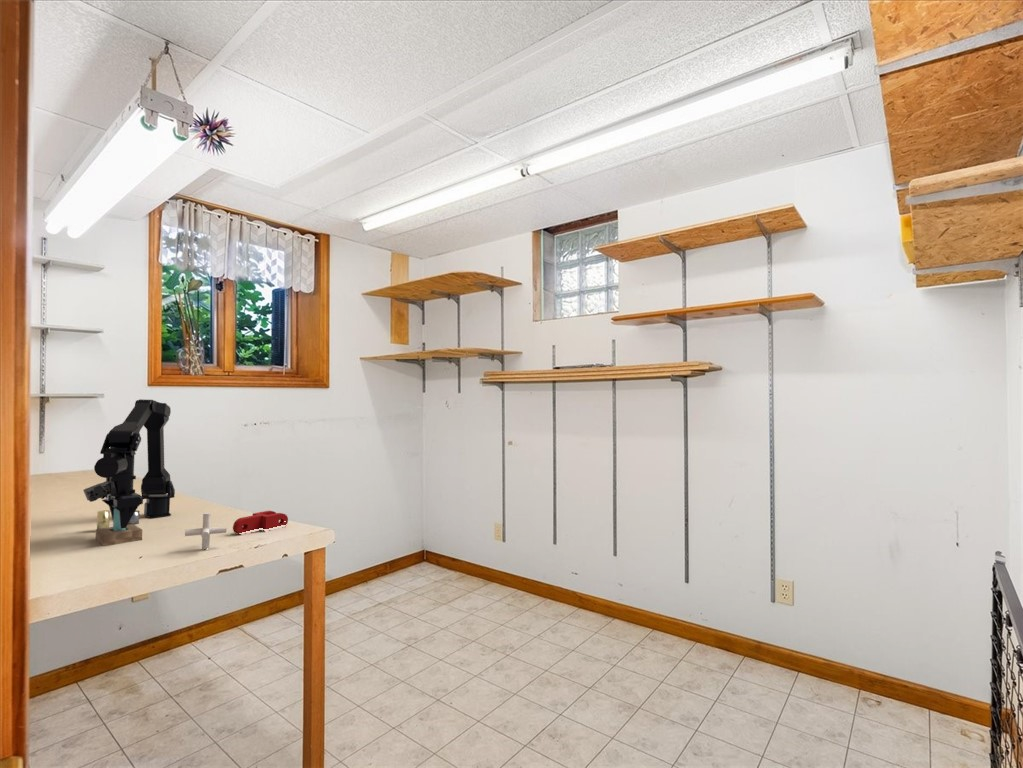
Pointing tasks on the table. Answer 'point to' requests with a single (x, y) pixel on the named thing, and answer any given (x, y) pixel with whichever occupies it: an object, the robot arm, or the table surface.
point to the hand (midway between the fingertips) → (119, 525)
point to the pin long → (117, 522)
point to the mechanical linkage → (260, 521)
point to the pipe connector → (205, 530)
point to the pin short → (134, 518)
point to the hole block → (118, 535)
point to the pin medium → (103, 519)
